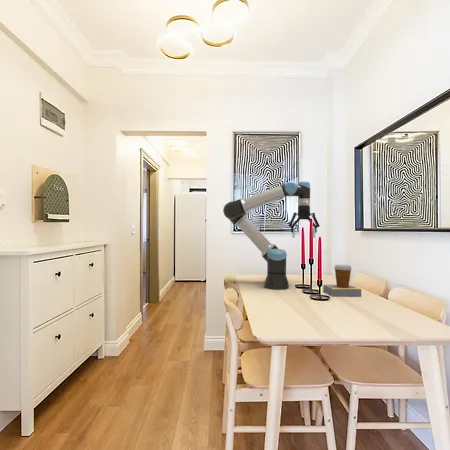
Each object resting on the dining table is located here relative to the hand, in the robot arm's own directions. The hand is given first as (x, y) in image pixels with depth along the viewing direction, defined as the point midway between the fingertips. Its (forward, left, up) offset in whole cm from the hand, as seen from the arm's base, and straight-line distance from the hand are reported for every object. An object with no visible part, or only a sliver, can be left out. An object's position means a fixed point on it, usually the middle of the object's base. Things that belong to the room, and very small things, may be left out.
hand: (303, 237), depth 216 cm
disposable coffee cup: (+14, -30, -27) cm, 42 cm away
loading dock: (+13, -30, -31) cm, 45 cm away
